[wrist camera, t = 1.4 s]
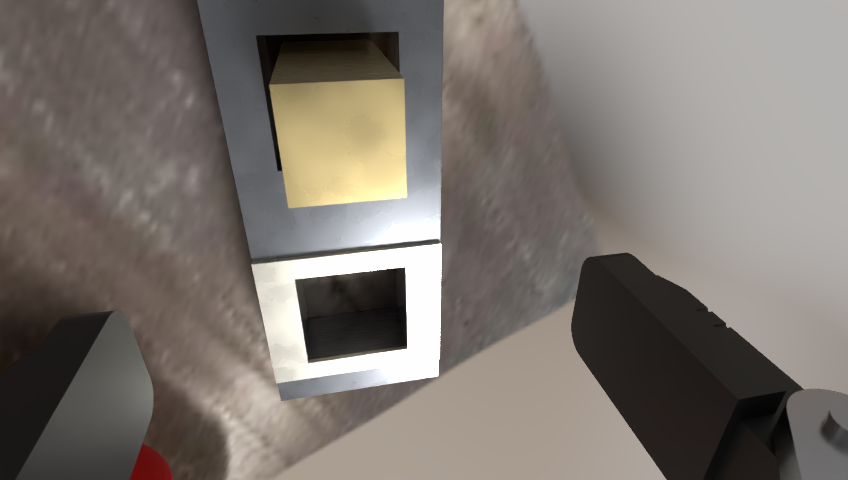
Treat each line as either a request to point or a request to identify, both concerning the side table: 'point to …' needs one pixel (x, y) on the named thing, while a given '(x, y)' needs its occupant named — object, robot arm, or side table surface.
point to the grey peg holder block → (337, 223)
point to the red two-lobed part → (150, 466)
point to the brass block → (339, 123)
